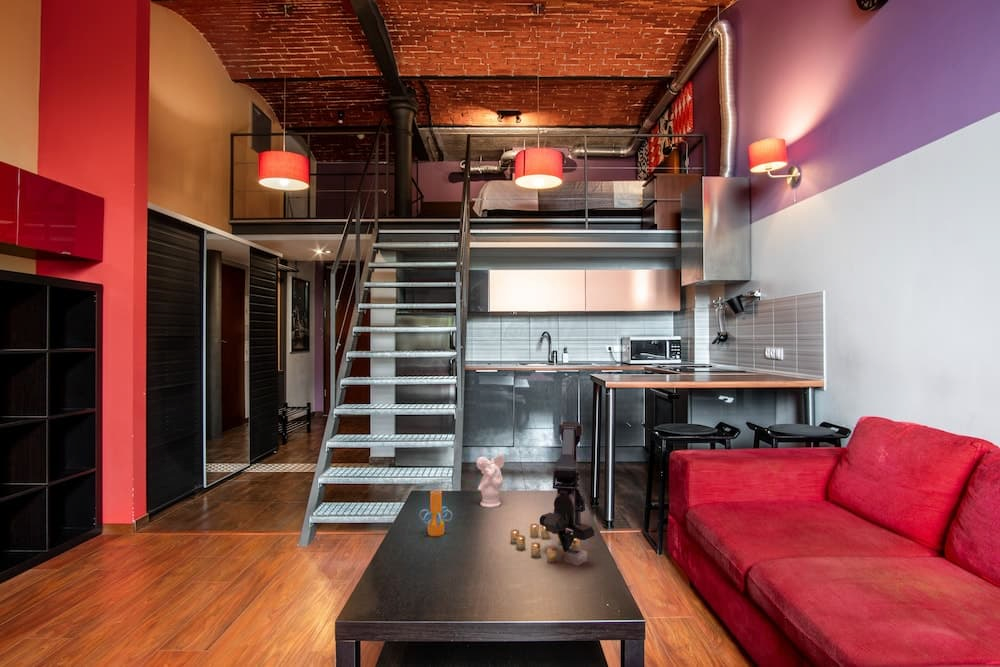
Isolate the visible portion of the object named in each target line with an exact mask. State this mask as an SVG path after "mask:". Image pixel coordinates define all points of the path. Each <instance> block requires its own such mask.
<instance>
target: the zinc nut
mask: <svg viewBox="0 0 1000 667" xmlns="http://www.w3.org/2000/svg"><path fill="white" fill-rule="evenodd" d="M564 562H567V563H569V564H571V565H573V566H576V567H579V566H581V565H582V564H584V563H586V562H588V551H586V550H584V549H582V548H580V549H579V548H576V547H573V548H571V547H570V549H569V550H567V551H565V552H564Z"/></svg>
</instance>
